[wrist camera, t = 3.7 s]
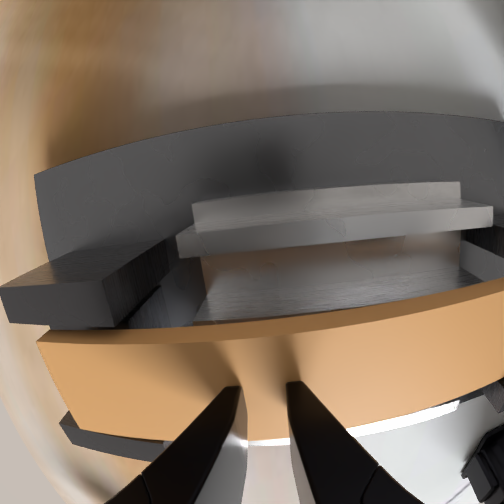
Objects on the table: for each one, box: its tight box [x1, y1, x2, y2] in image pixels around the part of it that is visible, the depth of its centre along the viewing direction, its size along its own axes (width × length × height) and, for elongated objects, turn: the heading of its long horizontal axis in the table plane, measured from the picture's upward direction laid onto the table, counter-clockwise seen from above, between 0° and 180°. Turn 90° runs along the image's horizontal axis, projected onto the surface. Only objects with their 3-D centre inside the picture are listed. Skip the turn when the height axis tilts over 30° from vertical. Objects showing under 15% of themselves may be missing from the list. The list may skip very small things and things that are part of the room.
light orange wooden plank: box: [36, 277, 504, 441], centre depth 7 cm, size 17×4×2 cm, turn 97°
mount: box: [0, 112, 504, 462], centre depth 9 cm, size 22×14×6 cm, turn 97°
